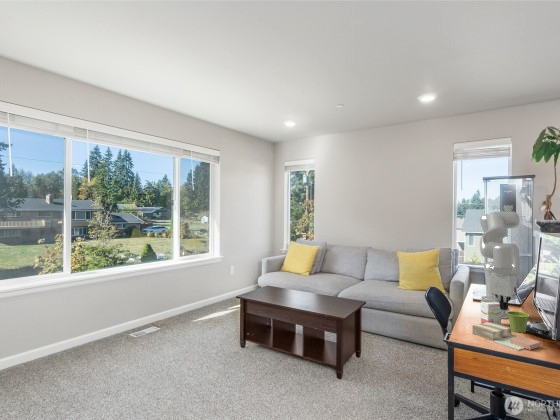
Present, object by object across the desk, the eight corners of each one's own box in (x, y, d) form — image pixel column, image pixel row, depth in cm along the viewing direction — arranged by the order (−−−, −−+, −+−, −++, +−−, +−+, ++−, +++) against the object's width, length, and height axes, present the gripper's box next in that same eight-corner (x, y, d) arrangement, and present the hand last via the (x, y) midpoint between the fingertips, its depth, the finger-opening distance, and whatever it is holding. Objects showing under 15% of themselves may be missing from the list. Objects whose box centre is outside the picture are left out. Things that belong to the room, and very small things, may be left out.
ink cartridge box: (488, 326, 164) (488, 298, 164) (480, 323, 169) (480, 296, 169) (501, 325, 166) (501, 297, 166) (493, 322, 171) (493, 295, 171)
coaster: (540, 342, 137) (540, 346, 137) (520, 335, 144) (520, 340, 144) (529, 345, 133) (529, 349, 133) (509, 338, 141) (509, 343, 141)
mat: (513, 336, 150) (513, 335, 150) (539, 344, 140) (539, 343, 140) (493, 341, 143) (493, 340, 143) (518, 350, 134) (518, 349, 134)
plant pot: (502, 329, 159) (502, 312, 160) (513, 326, 163) (513, 310, 164) (522, 335, 151) (522, 317, 151) (534, 332, 155) (533, 315, 155)
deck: (490, 329, 159) (490, 321, 159) (511, 336, 150) (511, 327, 150) (472, 333, 153) (472, 325, 153) (493, 341, 144) (493, 332, 144)
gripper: (482, 269, 152) (483, 306, 152) (515, 274, 139) (516, 315, 139) (491, 267, 156) (492, 304, 155) (525, 272, 142) (526, 312, 142)
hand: (504, 309), depth 147 cm, fingers closed
